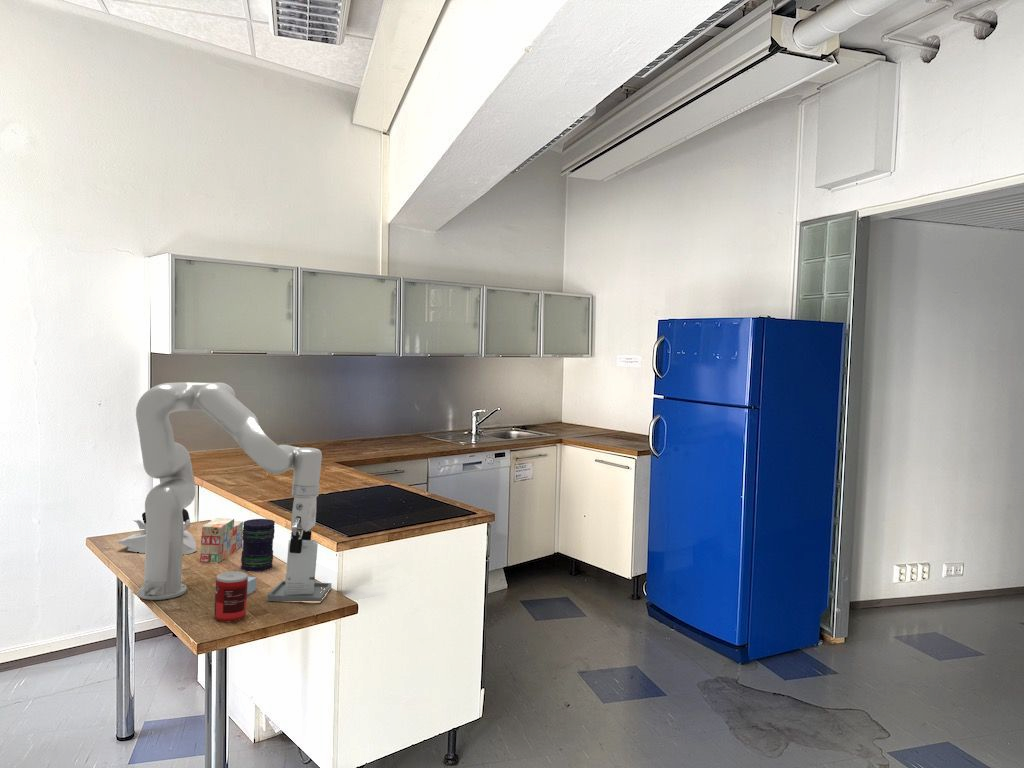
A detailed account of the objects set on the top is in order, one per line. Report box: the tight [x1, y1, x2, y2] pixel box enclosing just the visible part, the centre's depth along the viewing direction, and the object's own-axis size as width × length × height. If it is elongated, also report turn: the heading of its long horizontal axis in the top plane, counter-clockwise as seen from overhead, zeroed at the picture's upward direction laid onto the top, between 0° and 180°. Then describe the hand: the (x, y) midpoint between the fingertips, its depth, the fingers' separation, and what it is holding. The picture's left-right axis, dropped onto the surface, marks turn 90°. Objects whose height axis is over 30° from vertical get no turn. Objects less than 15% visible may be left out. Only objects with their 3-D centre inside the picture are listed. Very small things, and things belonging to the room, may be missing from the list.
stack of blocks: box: [199, 517, 244, 563], centre depth 232 cm, size 21×6×12 cm, turn 2°
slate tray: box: [266, 580, 333, 602], centre depth 196 cm, size 13×15×2 cm
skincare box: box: [284, 539, 319, 595], centre depth 196 cm, size 8×6×15 cm
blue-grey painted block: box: [247, 576, 257, 595], centre depth 196 cm, size 8×4×4 cm, turn 84°
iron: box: [117, 508, 198, 555], centre depth 232 cm, size 11×24×15 cm, turn 91°
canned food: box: [213, 570, 249, 623], centre depth 176 cm, size 8×8×11 cm
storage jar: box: [240, 518, 276, 573], centre depth 219 cm, size 10×10×15 cm
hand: (300, 548), depth 195 cm, fingers open, 9 cm apart
